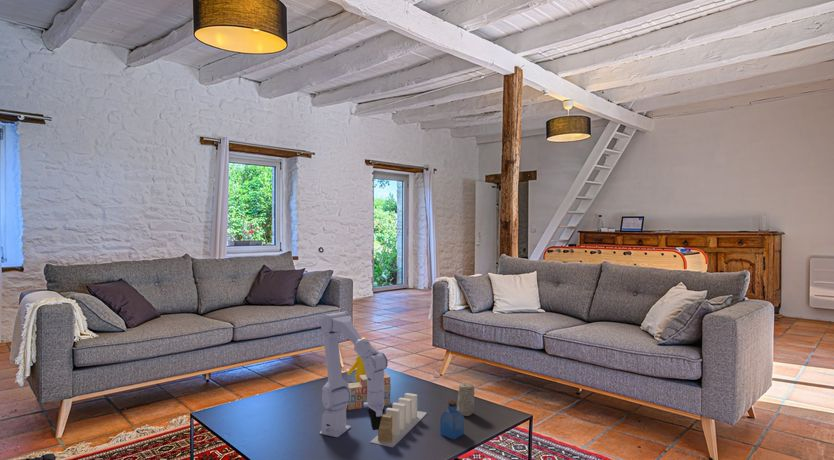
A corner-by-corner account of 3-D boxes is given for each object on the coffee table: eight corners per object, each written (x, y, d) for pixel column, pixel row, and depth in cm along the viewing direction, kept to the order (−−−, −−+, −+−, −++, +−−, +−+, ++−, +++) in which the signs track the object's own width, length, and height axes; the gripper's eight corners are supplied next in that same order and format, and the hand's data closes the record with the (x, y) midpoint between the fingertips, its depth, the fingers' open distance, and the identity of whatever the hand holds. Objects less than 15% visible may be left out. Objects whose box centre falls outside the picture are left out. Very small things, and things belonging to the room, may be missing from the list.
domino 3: (409, 424, 184) (409, 400, 184) (398, 422, 186) (398, 399, 186) (411, 422, 186) (411, 399, 186) (400, 420, 188) (400, 397, 188)
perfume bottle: (450, 429, 181) (450, 397, 181) (463, 433, 177) (464, 401, 177) (440, 434, 176) (440, 402, 176) (454, 439, 172) (454, 406, 172)
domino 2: (403, 429, 179) (403, 406, 179) (392, 427, 181) (392, 404, 181) (405, 427, 181) (405, 404, 181) (394, 425, 183) (394, 402, 183)
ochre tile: (390, 443, 169) (390, 417, 168) (377, 440, 170) (378, 415, 170) (392, 440, 170) (392, 415, 170) (380, 438, 172) (380, 413, 172)
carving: (466, 418, 190) (467, 388, 190) (453, 412, 196) (453, 383, 196) (477, 414, 194) (478, 385, 194) (464, 408, 200) (464, 380, 200)
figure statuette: (383, 379, 236) (383, 335, 236) (380, 385, 229) (380, 339, 228) (347, 378, 238) (347, 334, 237) (344, 384, 230) (344, 338, 230)
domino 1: (397, 435, 174) (397, 411, 174) (385, 433, 176) (385, 409, 176) (399, 433, 176) (399, 409, 176) (387, 431, 178) (387, 407, 178)
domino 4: (415, 418, 189) (415, 396, 189) (404, 416, 191) (404, 394, 191) (417, 416, 191) (417, 394, 191) (406, 415, 193) (406, 392, 193)
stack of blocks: (340, 411, 198) (340, 381, 197) (338, 405, 204) (338, 376, 203) (390, 405, 204) (390, 376, 204) (387, 400, 210) (387, 372, 210)
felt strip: (392, 447, 166) (392, 446, 166) (370, 442, 169) (370, 441, 169) (427, 413, 195) (427, 412, 195) (407, 409, 199) (407, 409, 199)
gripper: (360, 383, 169) (360, 421, 170) (367, 398, 155) (367, 439, 156) (380, 381, 171) (380, 419, 171) (388, 396, 157) (388, 437, 157)
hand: (375, 429), depth 164 cm, fingers closed
